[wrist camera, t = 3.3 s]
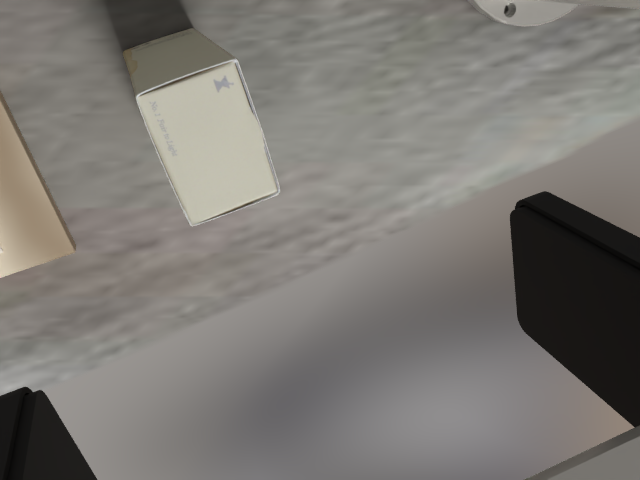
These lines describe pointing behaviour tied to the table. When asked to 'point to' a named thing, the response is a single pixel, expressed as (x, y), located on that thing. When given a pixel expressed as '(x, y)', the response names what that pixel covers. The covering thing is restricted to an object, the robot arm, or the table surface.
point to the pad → (26, 206)
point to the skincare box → (202, 124)
